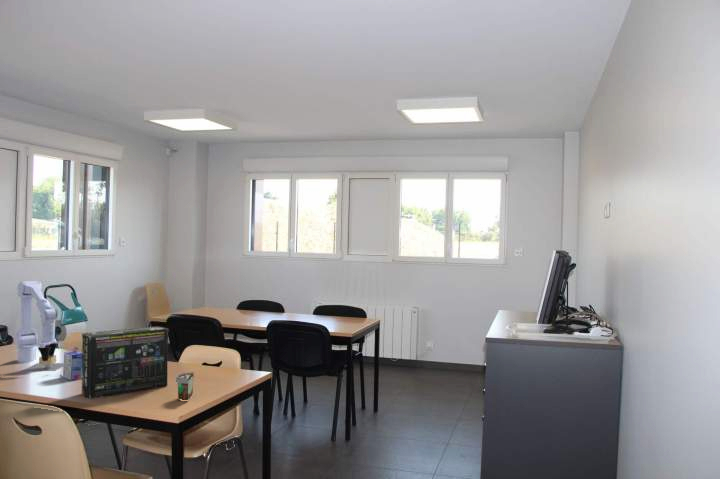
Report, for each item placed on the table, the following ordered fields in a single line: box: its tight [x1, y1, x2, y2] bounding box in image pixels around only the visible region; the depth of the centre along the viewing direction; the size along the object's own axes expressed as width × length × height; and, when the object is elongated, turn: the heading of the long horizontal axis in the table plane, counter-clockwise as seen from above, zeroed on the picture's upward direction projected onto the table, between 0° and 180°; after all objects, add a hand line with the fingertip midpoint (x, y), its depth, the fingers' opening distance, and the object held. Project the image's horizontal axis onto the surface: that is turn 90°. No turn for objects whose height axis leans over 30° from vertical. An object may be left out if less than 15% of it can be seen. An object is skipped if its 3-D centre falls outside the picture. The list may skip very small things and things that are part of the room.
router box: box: [81, 325, 169, 399], centre depth 257 cm, size 36×11×27 cm, turn 133°
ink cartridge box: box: [62, 346, 82, 381], centre depth 276 cm, size 10×6×14 cm, turn 48°
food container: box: [175, 371, 195, 400], centre depth 245 cm, size 12×6×10 cm, turn 5°
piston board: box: [21, 362, 64, 372], centre depth 293 cm, size 18×16×5 cm
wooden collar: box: [38, 354, 57, 364], centre depth 290 cm, size 6×6×4 cm
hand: (47, 359), depth 290 cm, fingers closed on wooden collar, 5 cm apart
